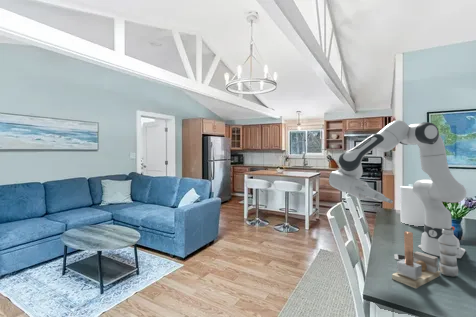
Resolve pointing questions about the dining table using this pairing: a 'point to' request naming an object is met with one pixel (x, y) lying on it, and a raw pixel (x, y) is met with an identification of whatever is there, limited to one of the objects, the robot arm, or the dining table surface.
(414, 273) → the copper post with base
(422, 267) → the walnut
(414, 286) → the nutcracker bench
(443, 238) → the plastic bottle
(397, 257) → the smartphone
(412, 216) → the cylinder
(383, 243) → the dining table surface
